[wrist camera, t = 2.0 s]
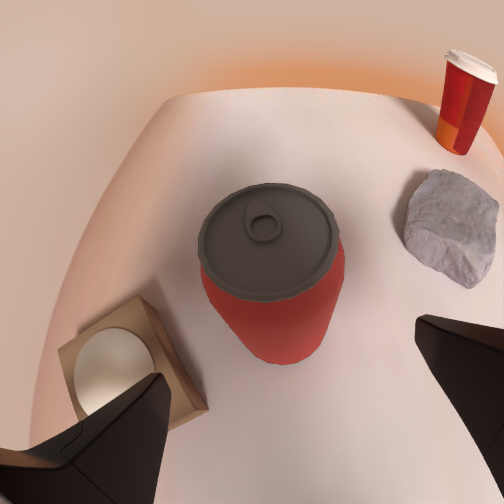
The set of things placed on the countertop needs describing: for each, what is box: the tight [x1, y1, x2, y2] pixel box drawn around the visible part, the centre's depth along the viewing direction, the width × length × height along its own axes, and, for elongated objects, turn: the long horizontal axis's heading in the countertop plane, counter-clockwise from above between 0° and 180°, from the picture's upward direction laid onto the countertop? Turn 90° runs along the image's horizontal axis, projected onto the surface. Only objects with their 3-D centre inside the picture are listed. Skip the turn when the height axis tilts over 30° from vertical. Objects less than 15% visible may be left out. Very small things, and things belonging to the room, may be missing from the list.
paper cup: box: [436, 49, 498, 155], centre depth 23 cm, size 8×8×14 cm
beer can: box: [198, 183, 345, 365], centre depth 16 cm, size 7×7×12 cm
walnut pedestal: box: [58, 295, 209, 431], centre depth 18 cm, size 10×10×3 cm
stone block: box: [403, 169, 499, 289], centre depth 21 cm, size 12×5×10 cm
